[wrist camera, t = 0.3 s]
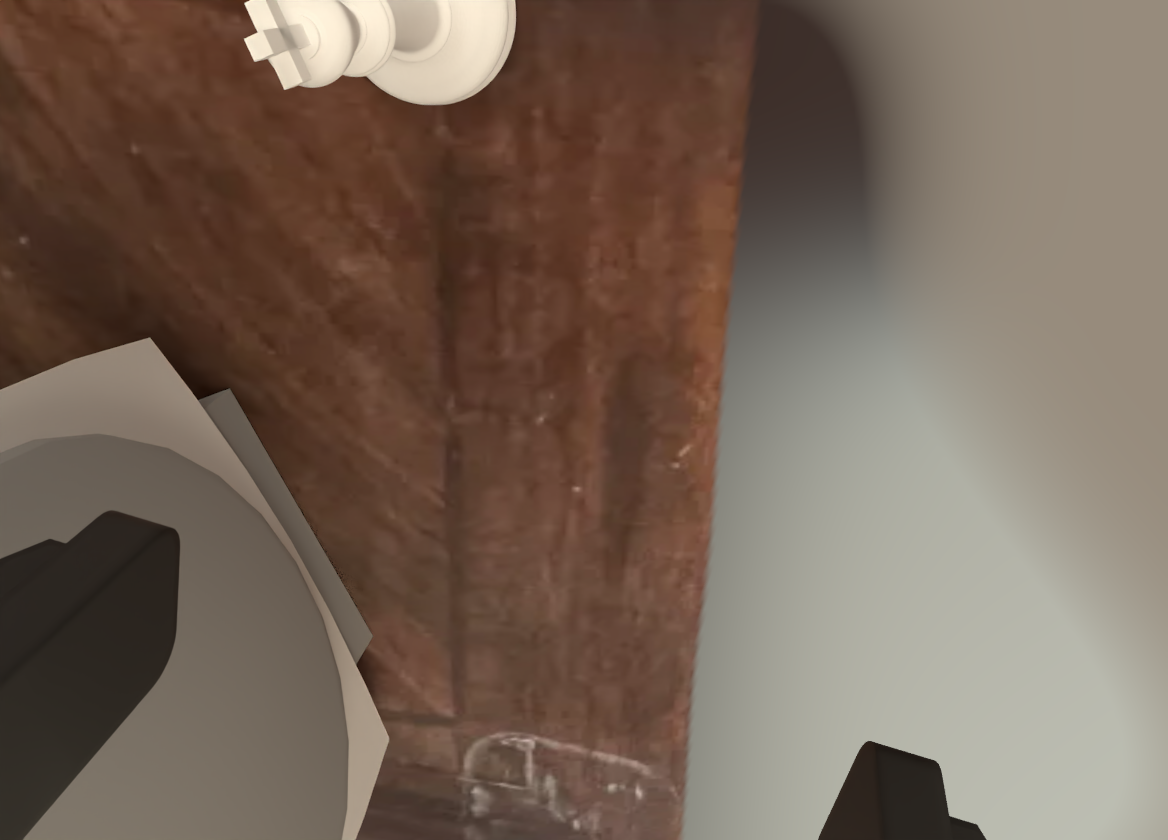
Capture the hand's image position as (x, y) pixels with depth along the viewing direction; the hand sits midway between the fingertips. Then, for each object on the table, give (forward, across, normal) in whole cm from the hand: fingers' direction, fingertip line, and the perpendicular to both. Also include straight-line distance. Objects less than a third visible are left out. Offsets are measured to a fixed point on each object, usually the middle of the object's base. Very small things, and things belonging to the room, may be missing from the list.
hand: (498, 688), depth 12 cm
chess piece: (+20, +8, -4) cm, 22 cm away
